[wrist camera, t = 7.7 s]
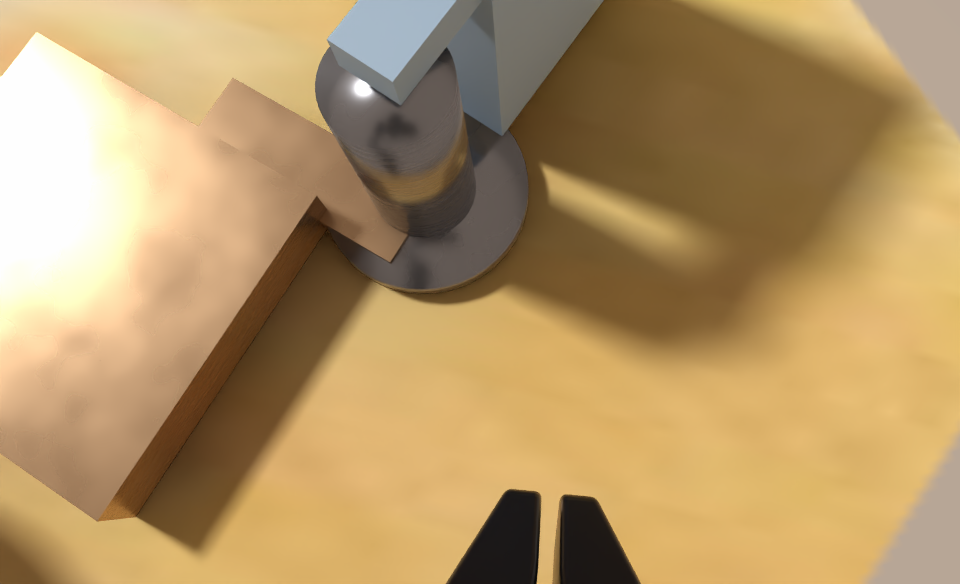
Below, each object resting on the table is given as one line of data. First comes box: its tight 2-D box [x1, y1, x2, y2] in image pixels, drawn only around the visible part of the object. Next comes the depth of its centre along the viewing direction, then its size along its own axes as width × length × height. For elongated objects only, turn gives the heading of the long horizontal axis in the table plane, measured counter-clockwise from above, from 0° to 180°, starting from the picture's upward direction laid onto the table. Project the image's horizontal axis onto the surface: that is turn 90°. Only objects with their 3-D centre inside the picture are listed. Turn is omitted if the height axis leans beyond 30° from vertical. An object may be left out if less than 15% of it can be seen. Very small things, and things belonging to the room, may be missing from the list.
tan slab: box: [0, 32, 528, 521], centre depth 20 cm, size 15×15×7 cm
